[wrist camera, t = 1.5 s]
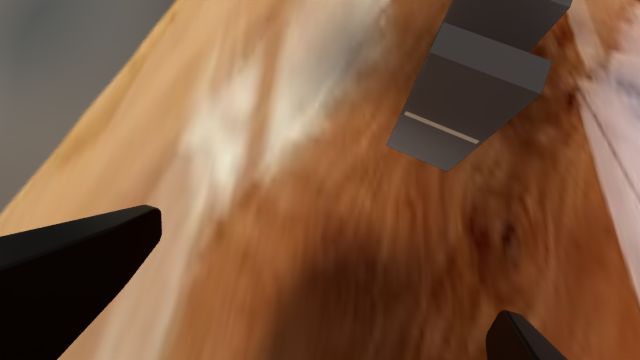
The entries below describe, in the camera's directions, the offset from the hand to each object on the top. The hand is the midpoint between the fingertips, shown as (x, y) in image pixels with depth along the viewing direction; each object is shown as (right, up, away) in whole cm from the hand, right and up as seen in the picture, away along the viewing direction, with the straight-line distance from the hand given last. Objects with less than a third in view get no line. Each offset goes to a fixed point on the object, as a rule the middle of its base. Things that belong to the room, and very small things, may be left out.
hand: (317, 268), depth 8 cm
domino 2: (+8, +5, +17) cm, 19 cm away
